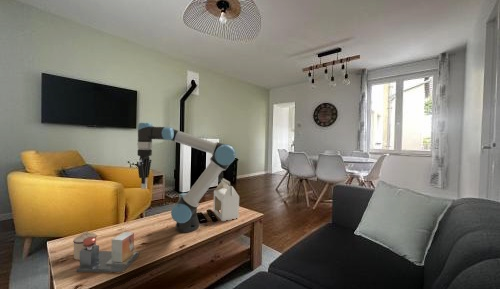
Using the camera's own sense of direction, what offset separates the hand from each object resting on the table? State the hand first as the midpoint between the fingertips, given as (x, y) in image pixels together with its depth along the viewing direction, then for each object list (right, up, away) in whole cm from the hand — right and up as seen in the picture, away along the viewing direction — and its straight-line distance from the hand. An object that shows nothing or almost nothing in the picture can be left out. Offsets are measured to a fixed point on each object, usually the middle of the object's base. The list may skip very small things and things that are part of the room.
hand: (144, 188), depth 121 cm
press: (-4, -30, -24) cm, 39 cm away
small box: (+2, -28, -23) cm, 37 cm away
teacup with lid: (-21, -30, -17) cm, 40 cm away
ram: (-11, -27, -27) cm, 40 cm away
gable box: (+43, -30, +41) cm, 67 cm away
